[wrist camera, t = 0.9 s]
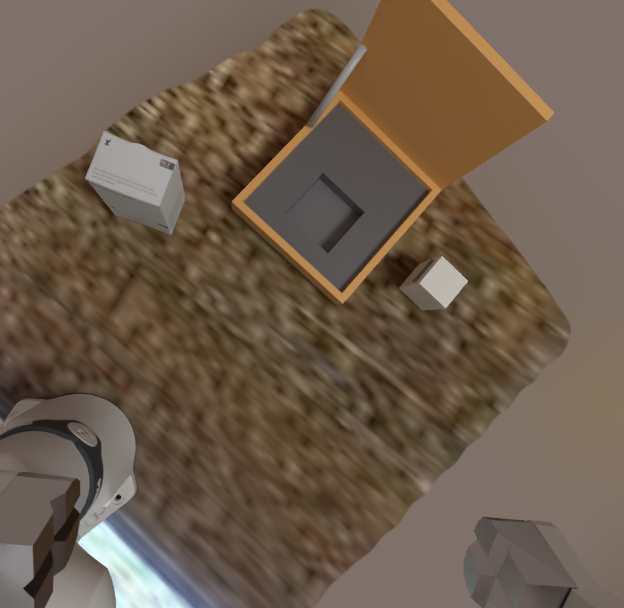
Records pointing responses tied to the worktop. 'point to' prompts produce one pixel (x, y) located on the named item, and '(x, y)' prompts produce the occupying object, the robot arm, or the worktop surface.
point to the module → (433, 284)
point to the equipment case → (387, 143)
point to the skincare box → (137, 182)
